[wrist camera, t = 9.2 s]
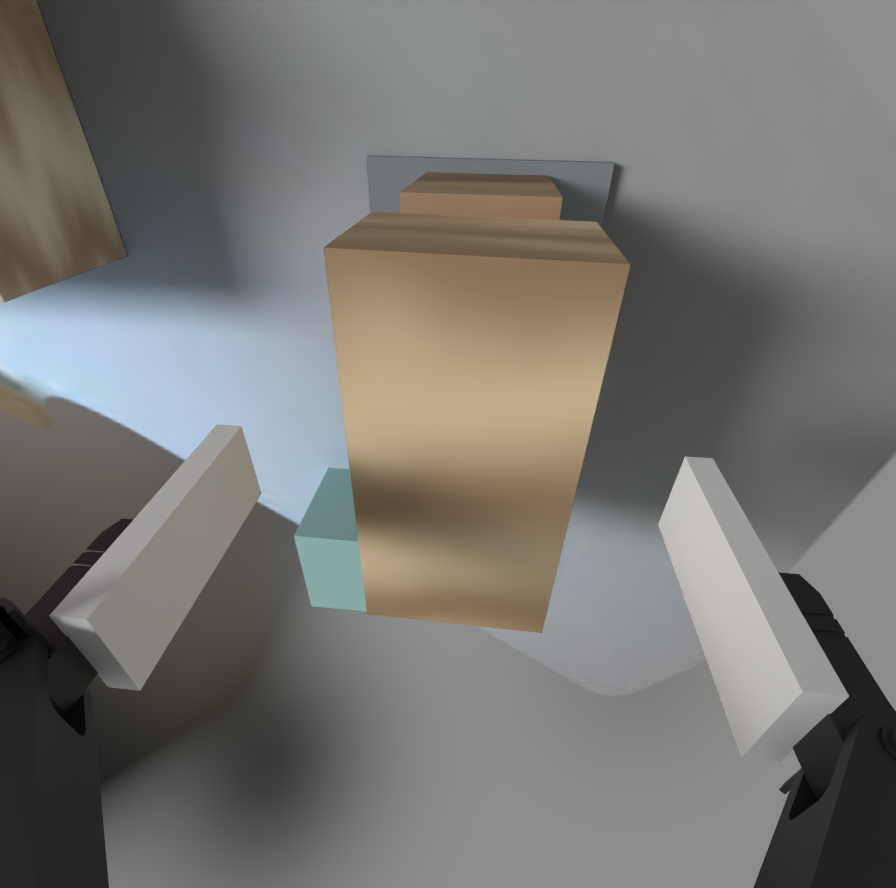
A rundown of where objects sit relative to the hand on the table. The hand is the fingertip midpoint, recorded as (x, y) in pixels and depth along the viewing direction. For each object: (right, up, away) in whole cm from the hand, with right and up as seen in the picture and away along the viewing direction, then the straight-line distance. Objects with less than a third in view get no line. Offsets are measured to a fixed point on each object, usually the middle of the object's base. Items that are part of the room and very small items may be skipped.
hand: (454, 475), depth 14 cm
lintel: (+1, +2, +4) cm, 5 cm away
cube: (-5, -3, +17) cm, 18 cm away
